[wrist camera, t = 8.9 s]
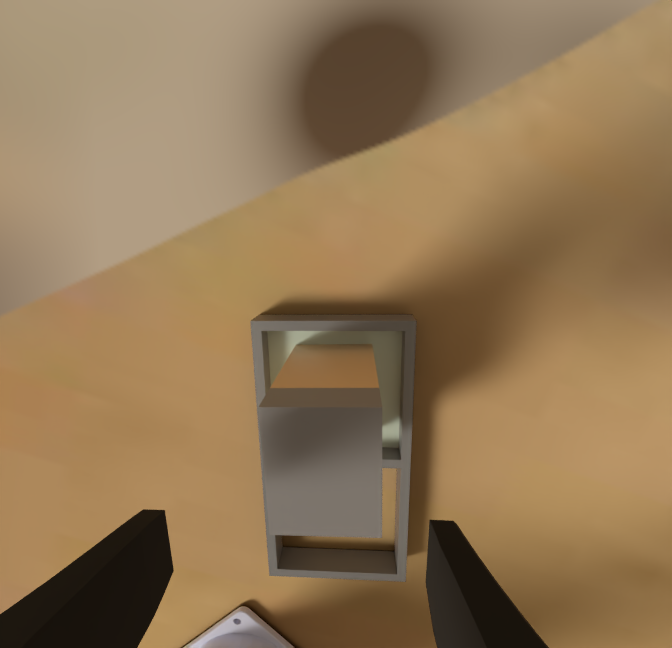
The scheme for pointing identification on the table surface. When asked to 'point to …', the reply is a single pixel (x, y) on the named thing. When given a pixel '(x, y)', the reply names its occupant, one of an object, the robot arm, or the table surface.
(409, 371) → the gray divided rectangular frame
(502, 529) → the table surface
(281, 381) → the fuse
